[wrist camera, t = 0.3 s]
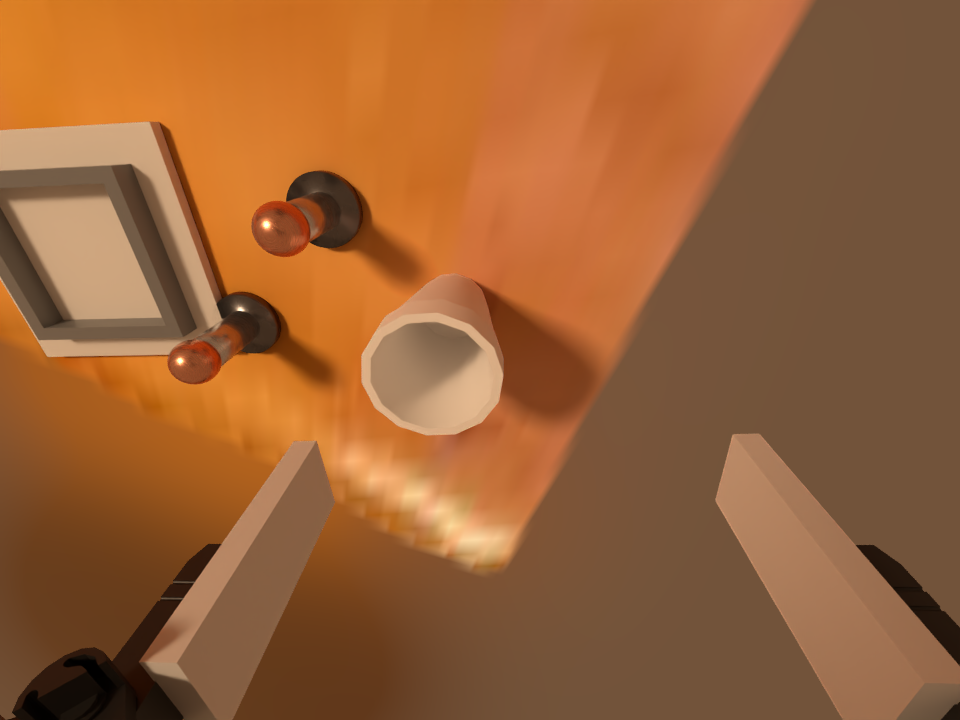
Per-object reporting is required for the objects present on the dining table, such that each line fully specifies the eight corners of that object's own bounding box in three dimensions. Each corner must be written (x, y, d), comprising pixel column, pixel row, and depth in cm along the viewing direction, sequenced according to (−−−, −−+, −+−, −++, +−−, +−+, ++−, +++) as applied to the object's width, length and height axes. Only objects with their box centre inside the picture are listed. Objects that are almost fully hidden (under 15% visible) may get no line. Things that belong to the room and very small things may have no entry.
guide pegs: (208, 322, 41) (128, 373, 32) (315, 153, 33) (247, 161, 25) (262, 359, 43) (200, 418, 34) (376, 207, 35) (333, 232, 26)
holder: (-73, 135, 34) (-121, 135, 32) (158, 121, 33) (128, 121, 30) (56, 352, 44) (28, 366, 41) (240, 349, 43) (222, 363, 40)
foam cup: (391, 331, 41) (347, 409, 29) (418, 240, 36) (378, 291, 25) (483, 363, 42) (475, 450, 30) (519, 279, 38) (526, 344, 26)
